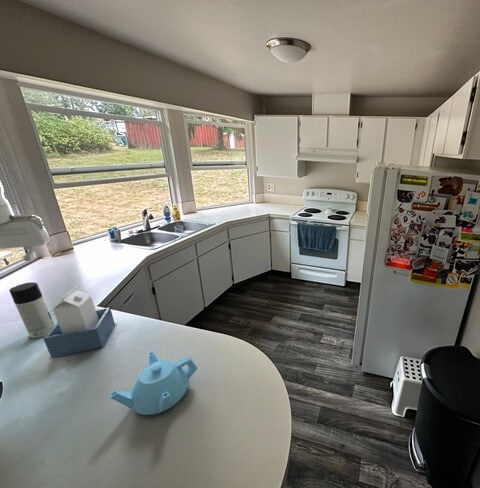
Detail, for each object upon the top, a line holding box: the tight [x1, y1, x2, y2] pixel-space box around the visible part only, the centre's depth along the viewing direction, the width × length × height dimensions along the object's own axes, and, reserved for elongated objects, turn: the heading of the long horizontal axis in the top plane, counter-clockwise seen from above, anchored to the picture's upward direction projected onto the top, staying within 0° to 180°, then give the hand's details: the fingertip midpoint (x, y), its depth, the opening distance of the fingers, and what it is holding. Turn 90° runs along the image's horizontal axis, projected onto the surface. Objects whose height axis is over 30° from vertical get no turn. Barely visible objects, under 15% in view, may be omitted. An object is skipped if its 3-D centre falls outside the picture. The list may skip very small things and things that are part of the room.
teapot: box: [109, 351, 198, 416], centre depth 70 cm, size 15×15×11 cm
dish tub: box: [42, 307, 116, 358], centre depth 90 cm, size 14×14×8 cm
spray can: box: [9, 282, 56, 339], centre depth 91 cm, size 7×7×20 cm
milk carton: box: [52, 286, 99, 334], centre depth 88 cm, size 7×7×19 cm
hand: (8, 262), depth 73 cm, fingers open, 8 cm apart
